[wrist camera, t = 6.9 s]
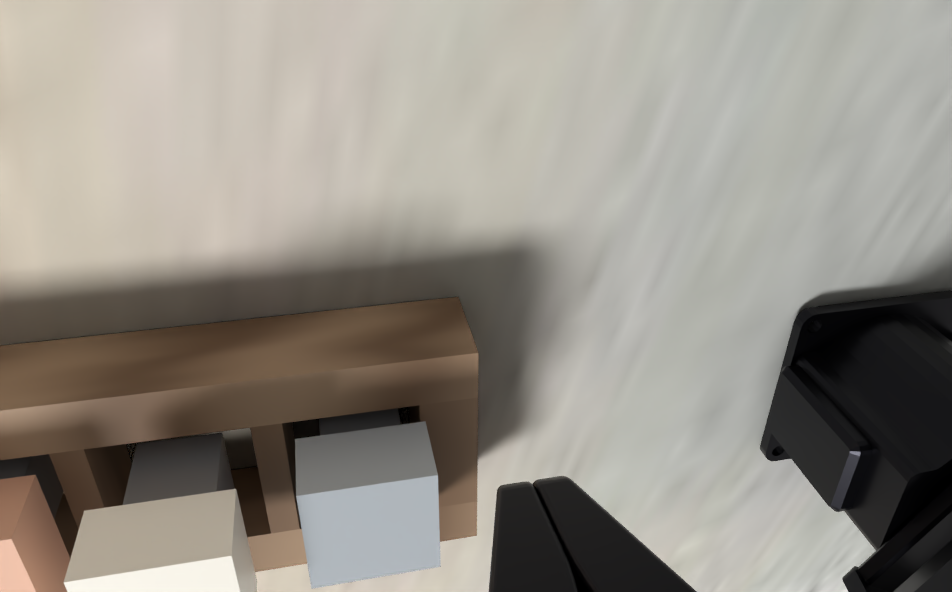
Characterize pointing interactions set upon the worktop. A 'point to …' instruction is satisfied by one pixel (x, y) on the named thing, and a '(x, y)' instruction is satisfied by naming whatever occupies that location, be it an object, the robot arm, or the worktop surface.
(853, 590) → the robot arm
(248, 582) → the key ivory
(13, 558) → the key terracotta
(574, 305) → the worktop surface
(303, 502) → the key slate
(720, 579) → the worktop surface
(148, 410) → the key panel
